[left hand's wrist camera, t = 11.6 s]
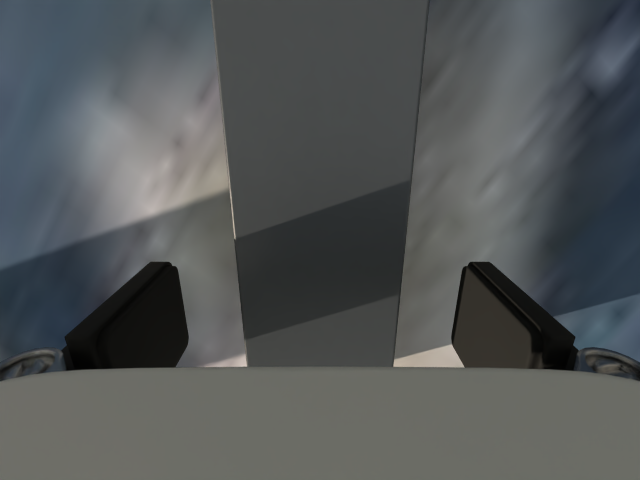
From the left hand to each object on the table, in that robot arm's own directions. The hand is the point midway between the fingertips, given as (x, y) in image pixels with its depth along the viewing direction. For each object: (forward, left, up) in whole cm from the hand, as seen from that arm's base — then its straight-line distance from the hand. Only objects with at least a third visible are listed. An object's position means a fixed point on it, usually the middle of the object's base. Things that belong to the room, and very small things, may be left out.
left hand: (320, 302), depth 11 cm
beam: (-3, +32, -5) cm, 32 cm away
